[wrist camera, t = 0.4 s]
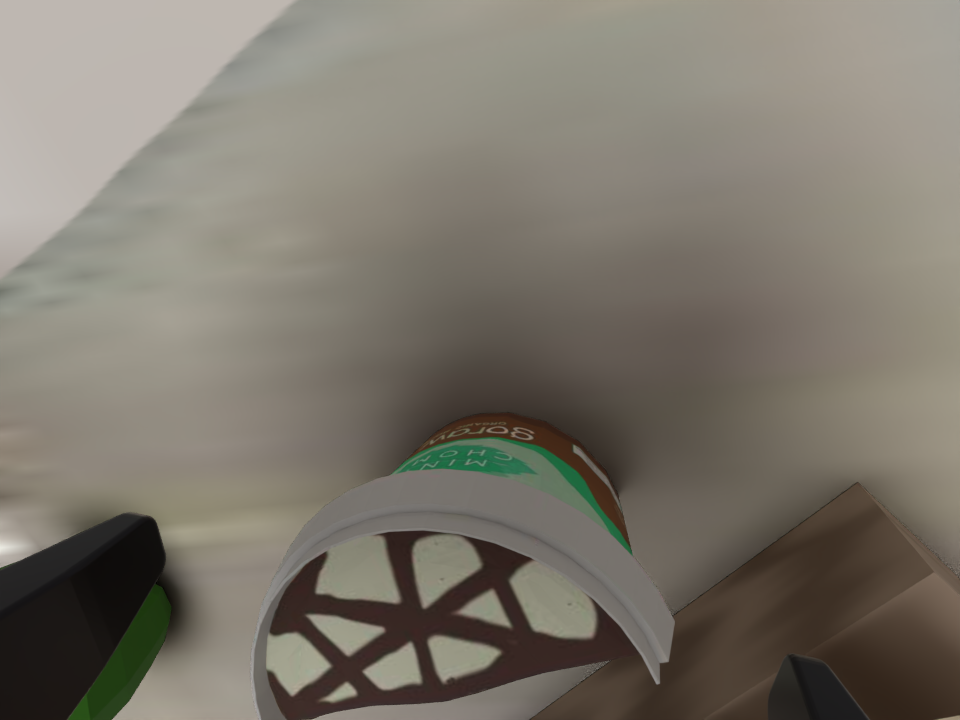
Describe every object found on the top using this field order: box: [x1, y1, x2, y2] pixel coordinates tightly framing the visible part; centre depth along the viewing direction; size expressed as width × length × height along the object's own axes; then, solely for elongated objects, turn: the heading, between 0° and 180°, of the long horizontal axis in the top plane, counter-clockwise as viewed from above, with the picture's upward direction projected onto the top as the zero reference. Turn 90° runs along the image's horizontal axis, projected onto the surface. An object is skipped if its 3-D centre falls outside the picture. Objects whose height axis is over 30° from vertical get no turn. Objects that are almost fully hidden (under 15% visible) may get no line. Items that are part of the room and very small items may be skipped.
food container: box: [250, 412, 675, 720], centre depth 20 cm, size 12×6×10 cm, turn 113°
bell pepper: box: [0, 562, 172, 720], centre depth 26 cm, size 8×8×10 cm
